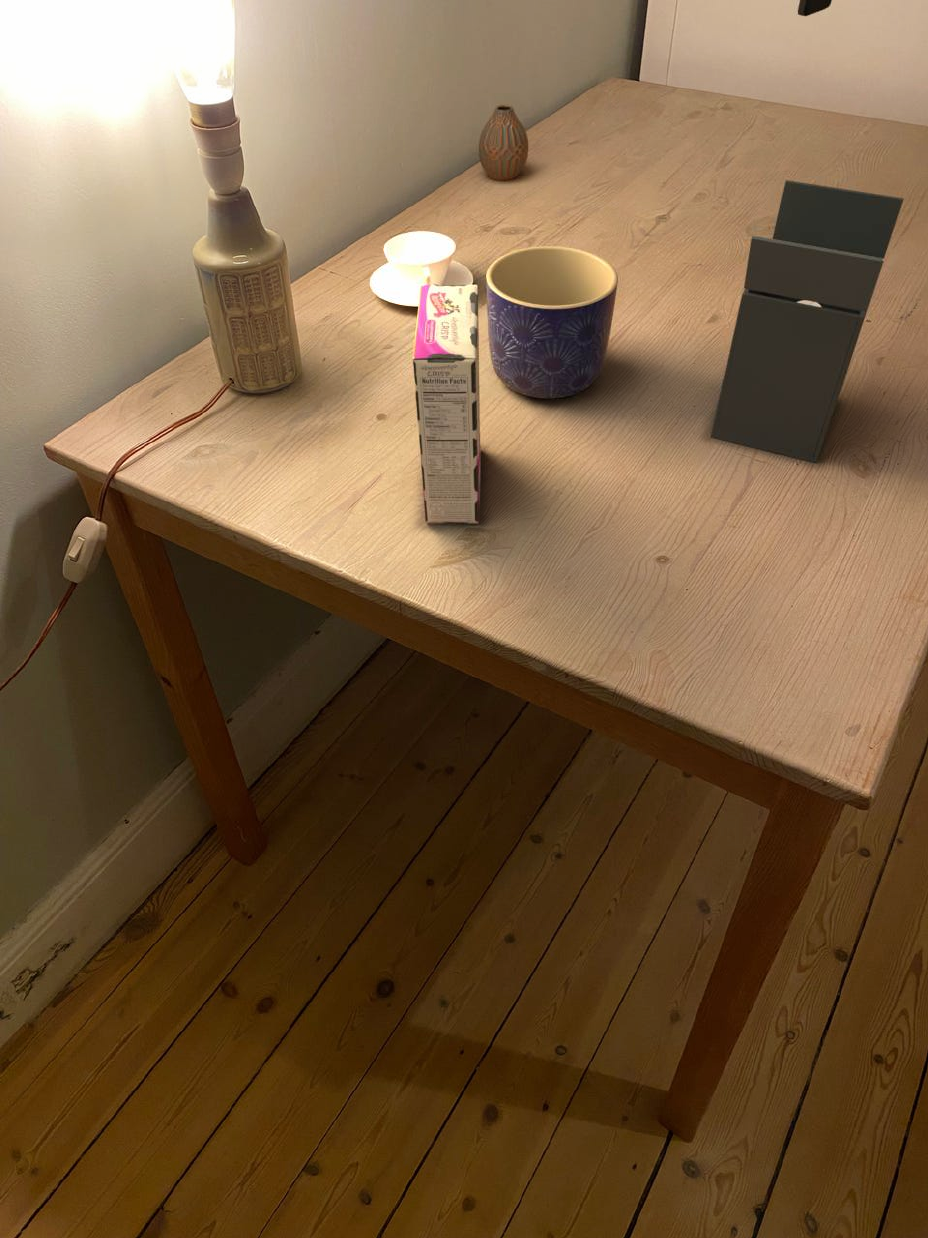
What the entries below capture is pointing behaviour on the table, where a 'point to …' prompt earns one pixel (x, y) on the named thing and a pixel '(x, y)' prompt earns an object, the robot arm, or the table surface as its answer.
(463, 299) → the candy bar box
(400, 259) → the teacup
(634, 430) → the table surface
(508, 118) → the vase
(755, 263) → the panel
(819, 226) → the chute
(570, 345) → the planter
